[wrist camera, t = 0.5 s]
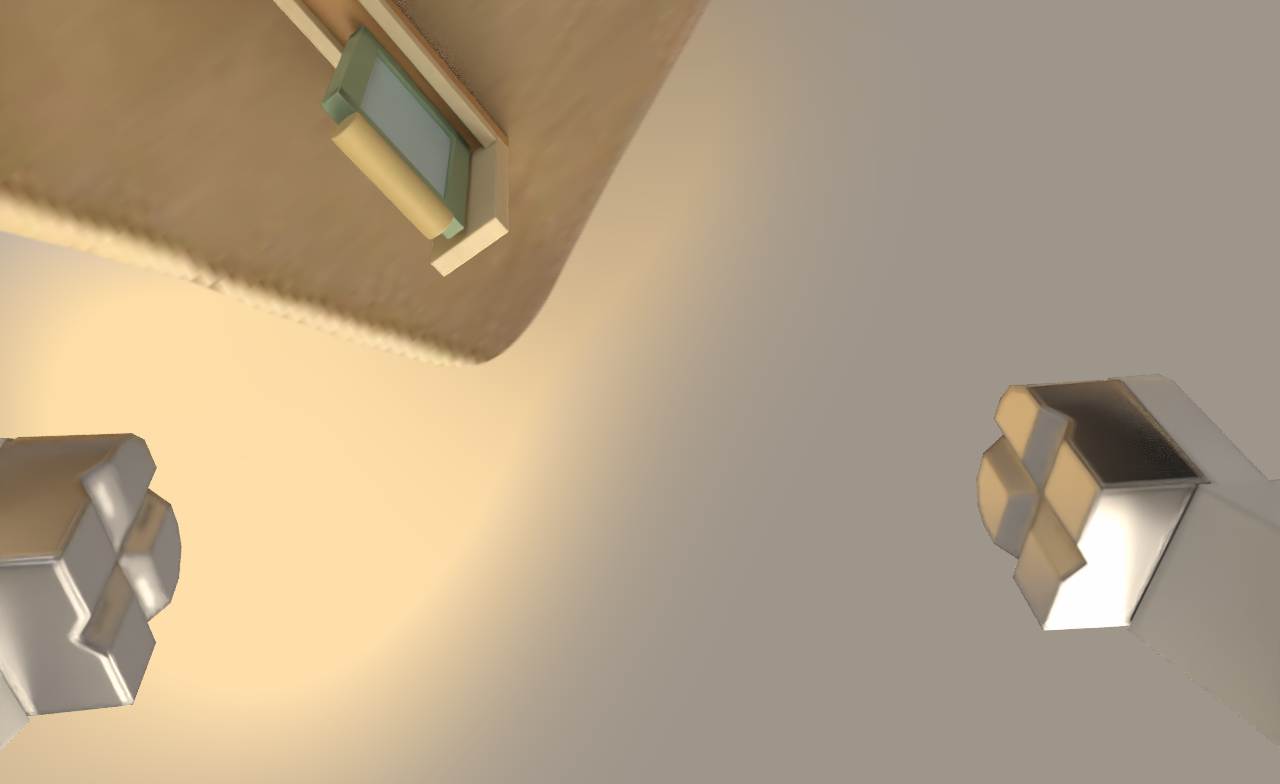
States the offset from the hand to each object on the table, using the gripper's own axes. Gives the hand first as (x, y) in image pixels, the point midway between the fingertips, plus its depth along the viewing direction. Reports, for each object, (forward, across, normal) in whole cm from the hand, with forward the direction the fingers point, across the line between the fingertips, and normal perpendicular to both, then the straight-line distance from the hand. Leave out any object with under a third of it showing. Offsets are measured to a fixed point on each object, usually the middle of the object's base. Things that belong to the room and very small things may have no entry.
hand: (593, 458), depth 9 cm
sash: (+43, +7, +11) cm, 45 cm away
